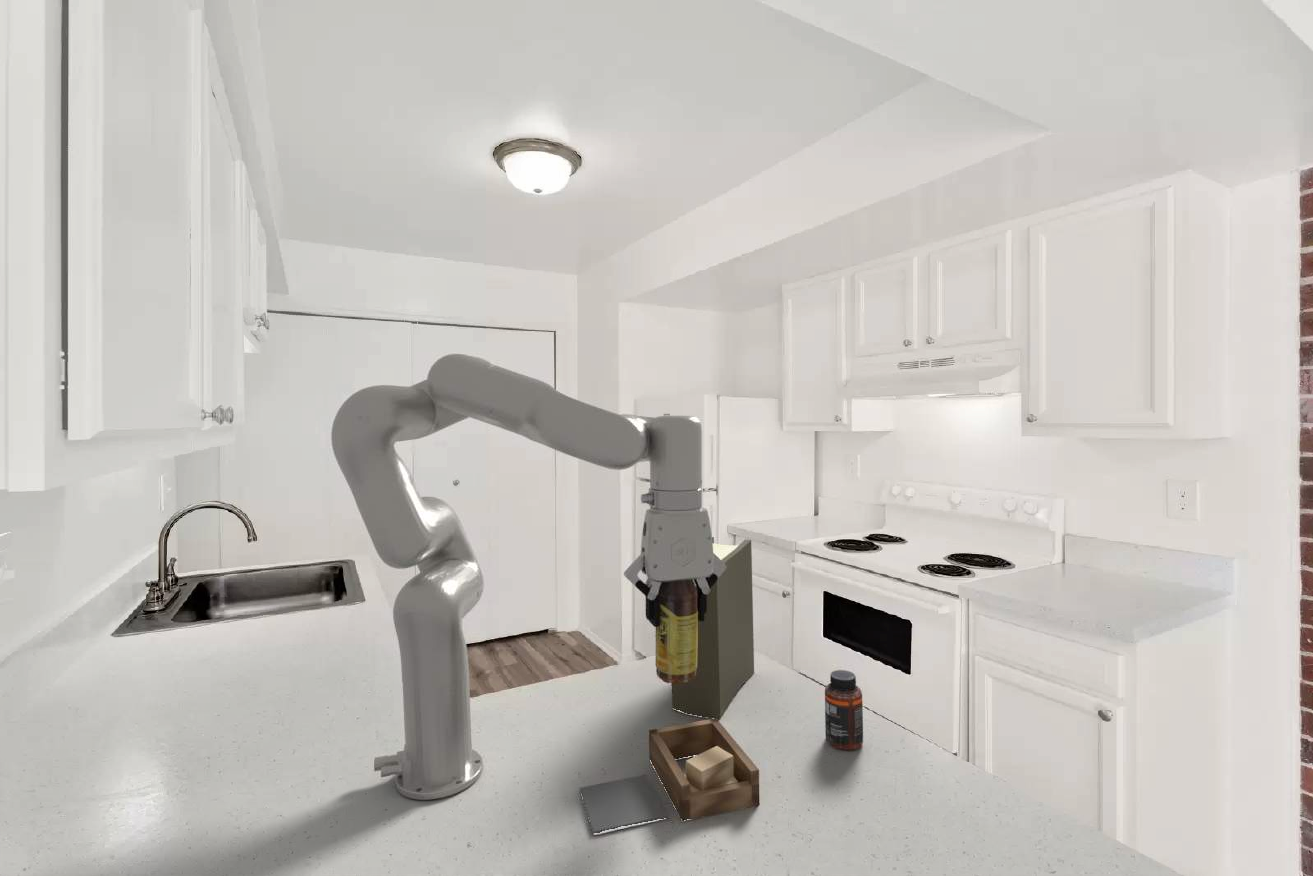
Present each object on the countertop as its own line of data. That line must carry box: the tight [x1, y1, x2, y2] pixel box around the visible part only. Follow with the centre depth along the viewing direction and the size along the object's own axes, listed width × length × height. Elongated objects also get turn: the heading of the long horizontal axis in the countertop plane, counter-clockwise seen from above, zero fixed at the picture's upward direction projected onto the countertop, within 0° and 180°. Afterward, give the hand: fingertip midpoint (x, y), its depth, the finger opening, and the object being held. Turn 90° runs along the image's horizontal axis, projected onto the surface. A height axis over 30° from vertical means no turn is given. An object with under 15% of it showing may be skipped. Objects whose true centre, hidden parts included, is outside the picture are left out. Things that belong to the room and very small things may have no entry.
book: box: [670, 536, 755, 720], centre depth 123 cm, size 22×9×28 cm, turn 155°
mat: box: [579, 774, 668, 834], centre depth 89 cm, size 10×10×1 cm
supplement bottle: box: [824, 669, 864, 751], centre depth 104 cm, size 6×6×11 cm
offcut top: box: [685, 746, 734, 791], centre depth 90 cm, size 6×3×3 cm, turn 128°
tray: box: [648, 718, 760, 822], centre depth 94 cm, size 11×15×5 cm
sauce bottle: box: [654, 580, 698, 684], centre depth 94 cm, size 6×6×20 cm
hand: (676, 620), depth 94 cm, fingers closed on sauce bottle, 6 cm apart
